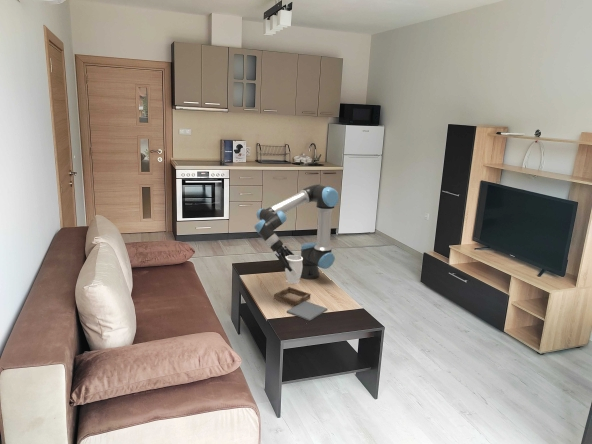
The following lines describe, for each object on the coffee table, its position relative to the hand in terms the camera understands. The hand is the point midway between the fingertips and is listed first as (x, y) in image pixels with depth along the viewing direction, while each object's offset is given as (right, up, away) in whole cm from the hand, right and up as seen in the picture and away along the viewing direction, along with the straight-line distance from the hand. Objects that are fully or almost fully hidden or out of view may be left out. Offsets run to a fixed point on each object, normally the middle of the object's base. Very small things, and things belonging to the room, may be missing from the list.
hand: (298, 271), depth 268 cm
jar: (-3, -6, +3) cm, 7 cm away
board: (+5, -22, -7) cm, 23 cm away
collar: (-4, -17, +9) cm, 20 cm away
